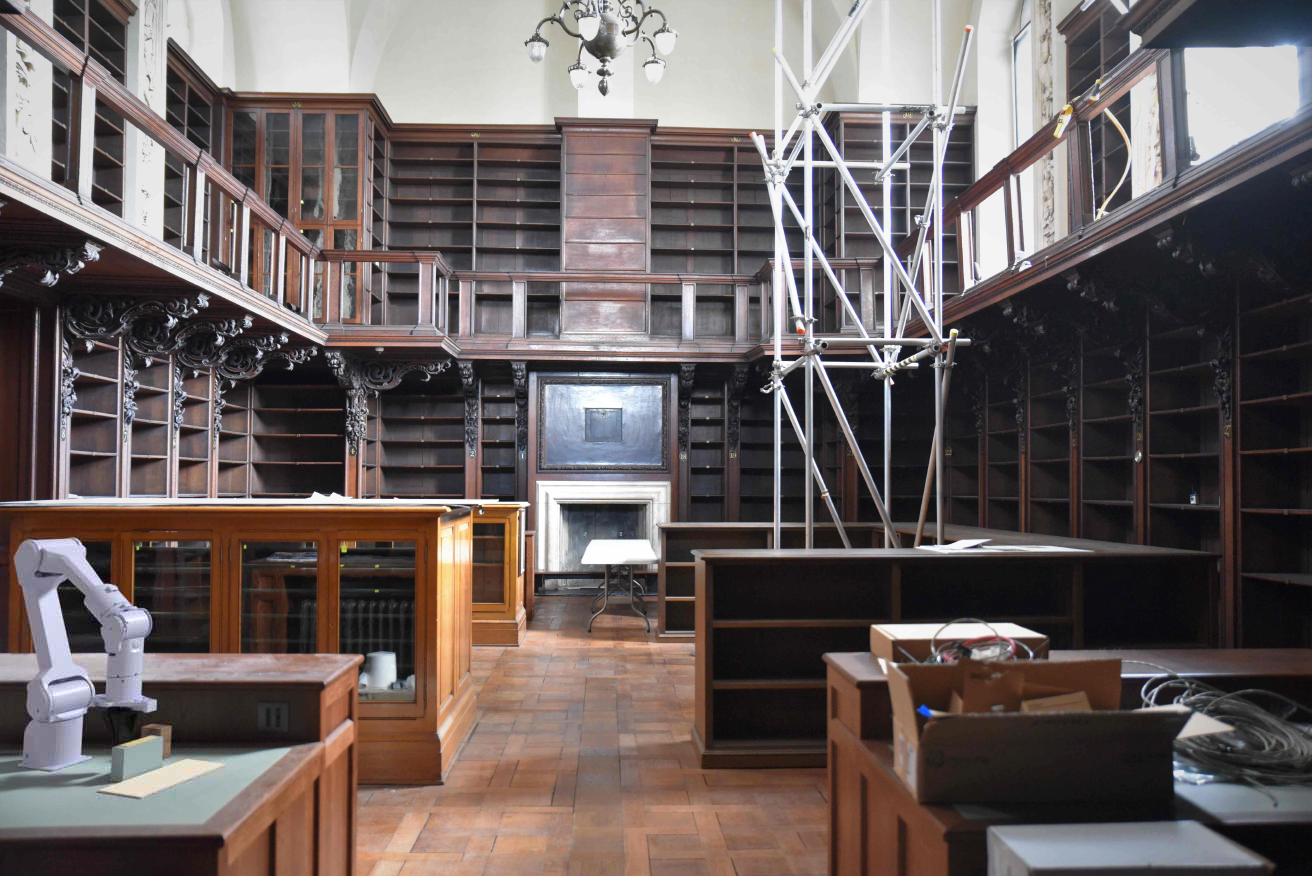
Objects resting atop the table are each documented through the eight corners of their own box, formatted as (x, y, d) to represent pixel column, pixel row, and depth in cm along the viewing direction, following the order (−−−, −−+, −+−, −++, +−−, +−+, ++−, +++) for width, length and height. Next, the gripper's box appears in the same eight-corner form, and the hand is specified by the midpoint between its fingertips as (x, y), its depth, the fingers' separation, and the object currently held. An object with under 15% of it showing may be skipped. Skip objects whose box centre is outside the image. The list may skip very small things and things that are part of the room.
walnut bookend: (140, 757, 160) (141, 727, 161) (151, 754, 162) (152, 723, 163) (159, 760, 159) (160, 729, 159) (170, 756, 161) (171, 726, 161)
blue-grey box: (110, 780, 147) (112, 746, 148) (149, 767, 155) (151, 734, 156) (122, 782, 147) (124, 748, 147) (161, 768, 154) (163, 735, 155)
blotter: (98, 791, 142) (98, 790, 142) (186, 760, 159) (186, 758, 159) (140, 798, 139) (141, 796, 139) (226, 765, 156) (226, 764, 156)
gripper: (76, 676, 152) (72, 750, 151) (133, 681, 147) (130, 757, 146) (111, 668, 159) (108, 739, 158) (167, 673, 154) (164, 746, 153)
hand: (121, 747), depth 152 cm, fingers closed
